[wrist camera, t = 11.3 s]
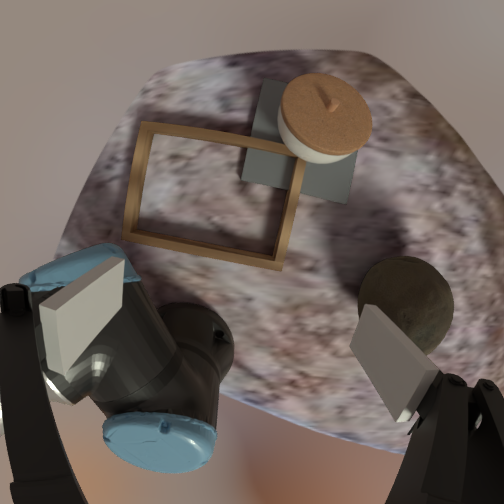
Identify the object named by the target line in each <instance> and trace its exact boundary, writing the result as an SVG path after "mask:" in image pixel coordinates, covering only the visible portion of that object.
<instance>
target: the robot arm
mask: <svg viewBox="0 0 504 504" xmlns="http://www.w3.org/2000/svg"><path fill="white" fill-rule="evenodd" d="M140 280H142V279H141V277H140V275H137V273H136V272H135V270H134V268H133V266H132V265H131V263H130V261H129V260H128V258H127V256H126V254H125V252H124V251H123V250H122V249H121V248H120V247H119V246H118V245H116V244H113V243H102V244H98V245H95V246H92V247H88V248H85V249H82V250H80V251H77V252H74V253H71V254H69V255H66V256H64V257H61V258H59V259H56V260H54V261H52V262H49V263H47V264H45V265H43V266H41V267H39V268H37V269H35V270H33V271H32V272H30V273H26V274H25V275H23V276H22V277H21V278H20V279H19V283H12V284H7V285H4V286H3V287H1V288H0V307H1V313H0V437H1V436H2V435H3V434H5V440H6V446H7V451H8V456H9V461H10V465H11V469H12V473H13V478H14V482H12V483H10V491H11V495H12V499H13V502H14V504H88V502H87V500H86V498H85V496H84V494H83V492H82V490H81V487H80V485H79V483H78V481H77V479H76V476H75V474H74V472H73V469H72V467H71V465H70V463H69V460H68V457H67V454H66V452H65V449H64V446H63V444H62V441H61V438H60V435H59V432H58V429H57V426H56V422H55V419H54V416H53V412H52V409H51V406H50V402H51V401H53V402H59V403H63V404H67V405H72V406H73V405H75V404H76V403H78V402H79V401H80V400H82V399H83V398H85V397H86V396H89V397H90V398H91V399H92V400H93V401H94V403H95V404H96V405H97V406H98V407H99V409H100V410H101V411H102V412H103V413H104V414H105V416H106V418H107V420H105V421H104V423H103V426H102V428H103V439H104V442H105V444H106V445H107V446H108V447H109V448H110V450H111V451H112V452H113V453H114V454H116V455H117V456H118V457H120V458H121V459H123V460H124V461H126V462H128V463H130V464H132V465H135V466H137V467H140V468H143V469H146V470H151V471H155V472H161V473H183V472H189V471H193V470H196V469H198V468H200V467H202V466H203V465H205V464H206V463H207V462H208V460H209V459H210V458H211V456H212V454H213V450H214V446H215V441H216V439H217V433H216V432H217V431H216V425H217V412H218V400H219V387H220V383H221V382H222V380H223V379H224V377H225V376H226V374H227V373H228V371H229V370H230V368H231V365H232V363H233V358H234V340H233V336H232V333H231V331H230V329H229V328H228V326H227V325H226V323H225V322H224V321H223V320H222V319H221V318H220V317H219V316H218V315H217V314H215V313H214V312H213V311H211V310H209V309H207V308H205V307H203V306H200V305H197V304H193V303H185V302H179V303H171V304H168V305H165V306H163V307H161V308H159V309H157V310H156V308H155V306H154V304H153V303H152V301H151V299H150V297H149V295H148V294H147V292H146V290H145V288H144V286H143V284H142V283H141V281H140ZM350 348H351V349H352V351H353V353H354V354H355V356H356V358H357V359H358V361H359V362H360V364H361V366H362V367H363V369H364V370H365V372H366V374H367V375H368V377H369V379H370V380H371V382H372V384H373V385H374V387H375V388H376V390H377V392H378V393H379V395H380V397H381V398H382V400H383V402H384V403H385V405H386V407H387V408H388V410H389V412H390V413H391V415H392V417H393V419H394V420H395V422H405V421H410V419H411V418H412V416H413V415H414V413H415V411H416V410H417V412H418V413H419V415H420V416H419V418H418V419H417V421H416V422H415V424H414V425H413V427H412V428H411V430H410V431H409V432H408V434H407V435H410V434H411V433H412V435H411V438H410V441H409V445H408V447H407V450H406V453H405V456H404V459H403V462H402V464H401V467H400V469H399V472H398V474H397V477H396V479H395V482H394V484H393V487H392V489H391V491H390V493H389V496H388V498H387V500H386V503H385V504H504V398H503V396H502V394H501V392H500V390H499V388H498V387H497V386H496V385H495V384H494V382H492V381H491V380H486V379H479V380H478V382H477V384H476V386H475V387H474V388H471V387H467V383H466V382H465V381H464V380H463V379H462V378H461V377H459V376H458V375H455V374H451V373H447V374H443V373H442V372H441V371H440V370H439V368H438V367H437V366H436V365H435V364H434V363H433V362H432V361H431V360H430V359H429V358H428V357H427V356H426V355H425V354H424V353H423V352H422V351H421V350H420V349H419V348H418V347H417V346H416V345H415V344H414V343H413V342H412V341H411V340H410V339H409V338H408V337H407V336H406V335H405V334H404V333H403V332H402V331H401V330H400V329H399V328H398V327H397V326H396V325H395V324H394V323H393V322H392V321H391V320H390V319H389V318H388V317H387V316H386V315H385V314H384V313H383V312H382V311H381V310H380V309H379V308H378V307H377V306H376V305H369V304H365V305H364V308H363V311H362V314H361V317H360V319H359V322H358V325H357V328H356V330H355V333H354V336H353V338H352V341H351V344H350ZM481 419H482V421H481ZM480 421H481V424H480V426H479V427H478V429H477V428H476V426H477V425H478V423H479V422H480Z"/></svg>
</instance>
